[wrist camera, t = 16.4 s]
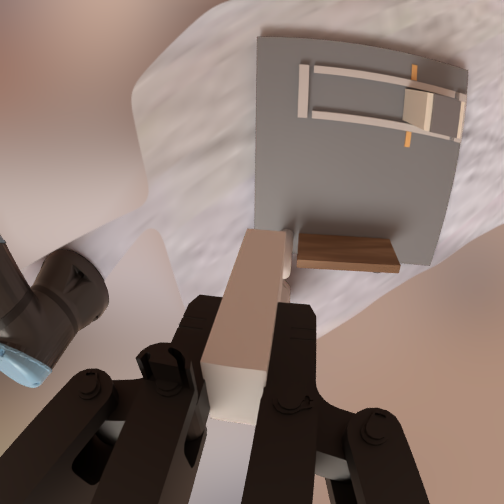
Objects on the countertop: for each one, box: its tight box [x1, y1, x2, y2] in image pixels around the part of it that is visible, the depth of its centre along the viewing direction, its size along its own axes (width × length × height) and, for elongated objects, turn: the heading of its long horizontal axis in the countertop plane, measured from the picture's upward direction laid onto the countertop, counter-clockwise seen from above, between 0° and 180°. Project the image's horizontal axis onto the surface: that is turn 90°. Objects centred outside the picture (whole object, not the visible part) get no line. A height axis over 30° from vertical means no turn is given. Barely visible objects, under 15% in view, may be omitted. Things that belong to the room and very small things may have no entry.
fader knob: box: [402, 89, 465, 139], centre depth 25 cm, size 4×4×7 cm
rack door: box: [297, 233, 401, 273], centre depth 36 cm, size 2×12×6 cm, turn 91°
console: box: [254, 37, 468, 279], centre depth 30 cm, size 24×26×10 cm
